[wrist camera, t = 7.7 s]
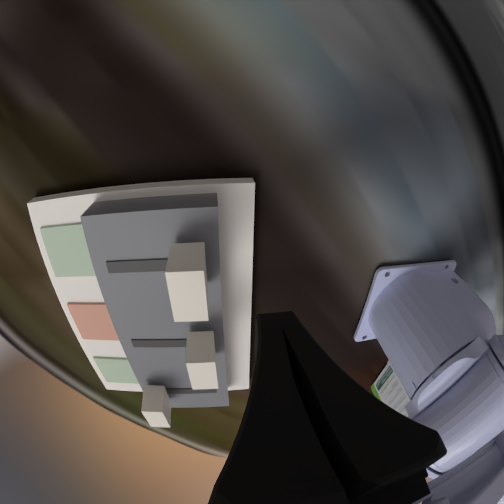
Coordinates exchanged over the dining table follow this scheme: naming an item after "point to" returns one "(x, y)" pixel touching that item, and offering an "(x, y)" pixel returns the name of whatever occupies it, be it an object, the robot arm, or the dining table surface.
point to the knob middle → (201, 360)
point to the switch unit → (152, 278)
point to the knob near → (187, 282)
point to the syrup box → (391, 390)
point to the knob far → (156, 406)
